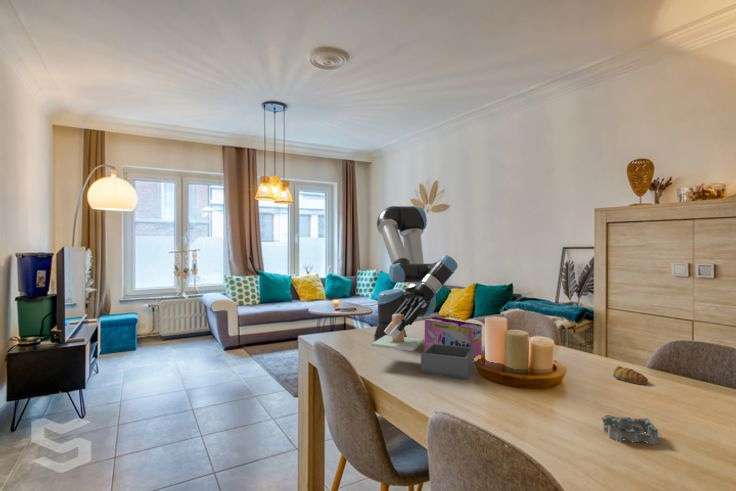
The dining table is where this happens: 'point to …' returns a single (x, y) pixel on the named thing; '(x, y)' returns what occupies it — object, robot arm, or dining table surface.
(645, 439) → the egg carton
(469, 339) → the gum box
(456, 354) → the tub
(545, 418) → the dining table surface
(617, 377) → the pastry
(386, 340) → the lid
